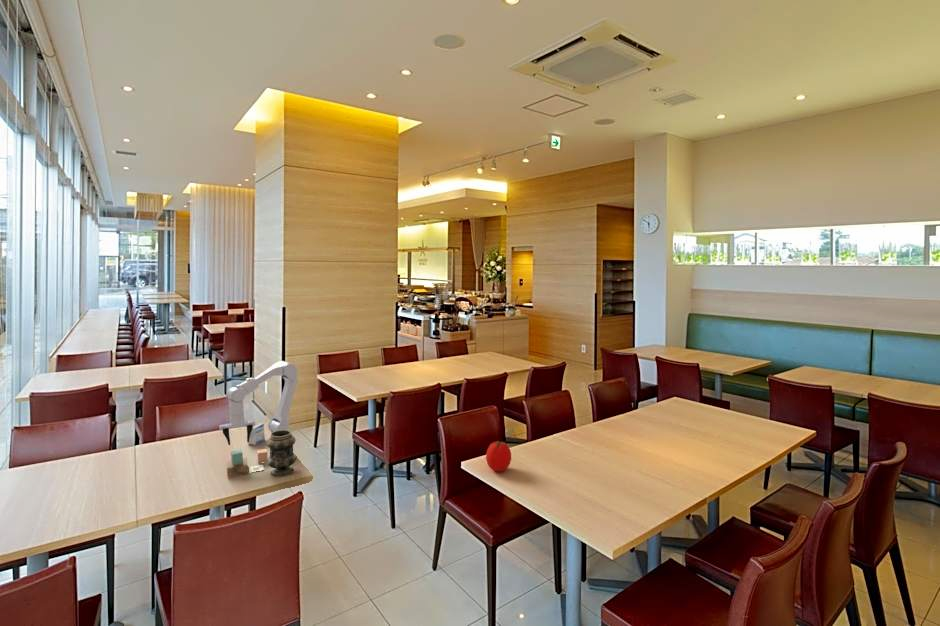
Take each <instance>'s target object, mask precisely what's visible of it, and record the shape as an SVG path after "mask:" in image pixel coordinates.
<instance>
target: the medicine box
mask: <svg viewBox="0 0 940 626" xmlns="http://www.w3.org/2000/svg"><path fill="white" fill-rule="evenodd" d="M265 438H266V436H265V425H264V423H261V422H260V423H257V422H256V423H255V426H253V429H252V431H251V434H250V438H249V442H247V445H248V444H253V445H252V446H257V445H258V444H260V443H262V442H263V441H265V440H264V439H265ZM261 441H262V442H261ZM259 442H260V443H259ZM257 443H258V444H257ZM256 444H257V445H256Z"/></svg>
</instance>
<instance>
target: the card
mask: <svg viewBox="0 0 940 626" xmlns="http://www.w3.org/2000/svg"><path fill="white" fill-rule="evenodd" d="M259 466H261V468H260V467H259ZM262 466H263V467H264V464H260V465H259V464H258V465H253V466H248V474H252V472H254V473H257V472H256V471H260V472H263V471H262V470H264V471H265V468H263V467H262ZM253 467H254V468H253Z"/></svg>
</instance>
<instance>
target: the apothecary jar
mask: <svg viewBox="0 0 940 626" xmlns="http://www.w3.org/2000/svg"><path fill="white" fill-rule="evenodd" d="M295 443H296V437H295V436H294V435H293V434H292V431H291V430H290V429H289V430H277V431H274V432H272V433H271V432H270V436H269V438H268V439H267V441H266V446H267V447H268V448H269V456H268V457H267V458H268V459H267V462H266V463H267V466H268V467H270V468H272V470H271V471H270V474H269V475H270V476H272V477H275V478H281V477H287V476H290V475H291V474H293V473H294V472H295V468H294V467H293V465H294V464H295V463H296V461H297V456H296V454H295V453H294V444H295Z"/></svg>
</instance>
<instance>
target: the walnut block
mask: <svg viewBox="0 0 940 626" xmlns="http://www.w3.org/2000/svg"><path fill="white" fill-rule="evenodd" d="M226 463H227V464H226V472H227V473H226V477H227V476H231V477H235V476H234V475H236V476H241V475H240V474H242V475H247V474H246V473H248V474H249V466H248V458H247V457H245V458H244V457H243V463H242V464H238V465H233V464H232V461H231V460H227V462H226Z"/></svg>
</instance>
